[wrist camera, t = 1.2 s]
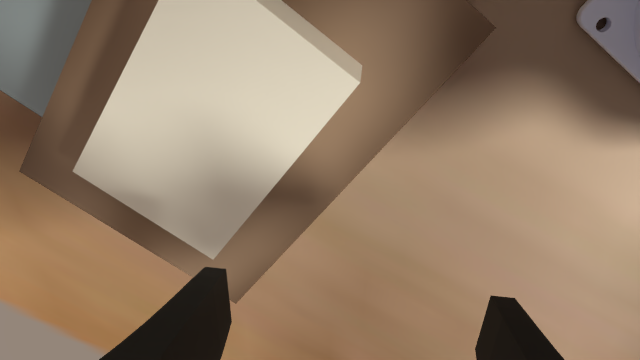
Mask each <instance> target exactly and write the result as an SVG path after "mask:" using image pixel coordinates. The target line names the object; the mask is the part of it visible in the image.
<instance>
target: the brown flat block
mask: <svg viewBox="0 0 640 360" xmlns="http://www.w3.org/2000/svg"><path fill="white" fill-rule="evenodd" d="M282 1H283V2H284V3H285V4H287V5H288V6H289V7H290V8H292V9H293V10H294V11H295V12H297V13H298V14H299V15H300V16H302V17H303V18H304V19H305V20H306V21H308V22H309V23H310V24H311V25H313V26H314V27H315V28H316V29H318V30H319V31H320V32H321V33H323V34H324V35H325V36H326V37H328V38H329V39H330V40H331V41H333V42H334V43H335V44H336V45H338V46H339V47H340V48H341V49H343V50H344V51H345V52H346V53H347V54H349V55H350V56H351V57H352V58H354V59H355V60H356V61H357V62H359V63H360V64H361V65H362V73H361V80H360V84H359V85H358V86H357V87H356V88H355V90H354V91H353V92H352V93H351V94H350V96H349V97H348V98H347V99H346V100H345V102H344V103H343V104H342V105H341V107H340V108H339V109H338V110H337V111H336V113H335V114H334V115H333V116H332V117H331V119H330V120H329V121H328V122H327V123H326V125H325V126H324V127H323V128H322V129H321V131H320V132H319V133H318V134H317V135H316V137H315V138H314V139H313V140H312V141H311V143H310V144H309V145H308V146H307V147H306V149H305V150H304V151H303V152H302V153H301V155H300V156H299V157H298V158H297V159H296V161H295V162H294V163H293V164H292V166H291V167H290V168H289V169H288V170H287V172H286V173H285V174H284V175H283V176H282V178H281V179H280V180H279V181H278V182H277V184H276V185H275V186H274V187H273V188H272V190H271V191H270V192H269V193H268V194H267V196H266V197H265V198H264V199H263V200H262V202H261V203H260V204H259V205H258V206H257V208H256V209H255V210H254V211H253V212H252V214H251V215H250V216H249V217H248V218H247V220H246V221H245V222H244V223H243V224H242V226H241V227H240V228H239V229H238V231H237V232H236V233H235V234H234V235H233V237H232V238H231V239H230V240H229V241H228V243H227V244H226V245H225V246H224V247H223V249H222V250H221V251H220V252H219V253H218V255H217V256H216V257H215V258H214V259H211V258H209V257H208V256H206V255H205V254H203V253H201V252H200V251H198V250H197V249H195V248H194V247H192V246H190V245H189V244H187V243H186V242H184V241H182V240H181V239H179V238H178V237H176V236H174V235H173V234H171V233H170V232H168V231H166V230H165V229H163V228H162V227H160V226H158V225H157V224H155V223H154V222H152V221H151V220H149V219H147V218H146V217H144V216H143V215H141V214H139V213H138V212H136V211H135V210H133V209H131V208H130V207H128V206H127V205H125V204H123V203H122V202H120V201H119V200H117V199H116V198H114V197H112V196H111V195H109V194H108V193H106V192H104V191H103V190H101V189H100V188H98V187H96V186H95V185H93V184H92V183H90V182H88V181H87V180H85V179H84V178H82V177H80V176H79V175H77V174H76V173H74V172H73V169H74V167H75V165H76V163H77V161H78V159H79V157H80V155H81V153H82V151H83V149H84V147H85V145H86V144H87V142H88V140H89V138H90V136H91V134H92V132H93V130H94V128H95V126H96V124H97V122H98V120H99V118H100V116H101V114H102V112H103V110H104V108H105V106H106V104H107V102H108V100H109V98H110V96H111V94H112V92H113V90H114V88H115V86H116V84H117V82H118V80H119V78H120V76H121V74H122V72H123V70H124V68H125V66H126V64H127V62H128V60H129V58H130V56H131V54H132V52H133V50H134V48H135V46H136V44H137V42H138V40H139V38H140V36H141V34H142V32H143V30H144V28H145V26H146V24H147V22H148V20H149V18H150V16H151V14H152V12H153V10H154V8H155V6H156V4H157V2H158V0H92V1H91V3H90V5H89V8H88V10H87V12H86V15H85V17H84V20H83V22H82V24H81V27H80V29H79V31H78V34H77V36H76V38H75V41H74V43H73V46H72V48H71V50H70V53H69V55H68V57H67V60H66V62H65V65H64V67H63V69H62V72H61V74H60V76H59V79H58V81H57V83H56V86H55V88H54V91H53V93H52V95H51V98H50V100H49V102H48V105H47V107H46V110H45V112H44V114H43V117H42V119H41V121H40V124H39V126H38V128H37V131H36V133H35V136H34V138H33V140H32V143H31V145H30V147H29V150H28V152H27V155H26V157H25V159H24V162H23V164H22V166H21V169H20V172H21V173H23V174H25V175H26V176H28V177H30V178H31V179H33V180H34V181H36V182H38V183H39V184H41V185H43V186H44V187H46V188H47V189H49V190H51V191H52V192H54V193H56V194H57V195H59V196H61V197H62V198H64V199H65V200H67V201H69V202H70V203H72V204H74V205H75V206H77V207H79V208H80V209H82V210H83V211H85V212H87V213H88V214H90V215H92V216H93V217H95V218H97V219H98V220H100V221H101V222H103V223H105V224H106V225H108V226H110V227H111V228H113V229H115V230H116V231H118V232H119V233H121V234H123V235H124V236H126V237H128V238H129V239H131V240H133V241H134V242H136V243H137V244H139V245H141V246H142V247H144V248H146V249H147V250H149V251H151V252H152V253H154V254H155V255H157V256H159V257H160V258H162V259H164V260H165V261H167V262H169V263H170V264H172V265H173V266H175V267H177V268H178V269H180V270H182V271H183V272H185V273H187V274H188V275H190V276H191V277H194V276H195V275H197V274H198V273H199V272H200V271H201V270H202V269H203V268H204V267H213V268H223V269H226V272H227V281H228V291H229V300H231V301H232V302H234V303H237V302H238V301H239V300H240V299H241V298H242V297H243V295H244V294H245V293H246V292H247V291H248V290H249V289H250V288H251V287H252V286H253V285H254V284H255V283H256V282H257V281H258V280H259V279H260V277H261V276H262V275H263V274H264V273H265V272H266V271H267V270H268V269H269V268H270V267H271V266H272V265H273V264H274V263H275V262H276V261H277V259H278V258H279V257H280V256H281V255H282V254H283V253H284V252H285V251H286V250H287V249H288V248H289V247H290V246H291V245H292V244H293V242H294V241H295V240H296V239H297V238H298V237H299V236H300V235H301V234H302V233H303V232H304V231H305V230H306V229H307V228H308V227H309V226H310V224H311V223H312V222H313V221H314V220H315V219H316V218H317V217H318V216H319V215H320V214H321V213H322V212H323V211H324V210H325V209H326V208H327V206H328V205H329V204H330V203H331V202H332V201H333V200H334V199H335V198H336V197H337V196H338V195H339V194H340V193H341V192H342V191H343V190H344V188H345V187H346V186H347V185H348V184H349V183H350V182H351V181H352V180H353V179H354V178H355V177H356V176H357V175H358V174H359V173H360V171H361V170H362V169H363V168H364V167H365V166H366V165H367V164H368V163H369V162H370V161H371V160H372V159H373V158H374V157H375V156H376V155H377V153H378V152H379V151H380V150H381V149H382V148H383V147H384V146H385V145H386V144H387V143H388V142H389V141H390V140H391V139H392V138H393V137H394V135H395V134H396V133H397V132H398V131H399V130H400V129H401V128H402V127H403V126H404V125H405V124H406V123H407V122H408V121H409V120H410V119H411V117H412V116H413V115H414V114H415V113H416V112H417V111H418V110H419V109H420V108H421V107H422V106H423V105H424V104H425V103H426V102H427V100H428V99H429V98H430V97H431V96H432V95H433V94H434V93H435V92H436V91H437V90H438V89H439V88H440V87H441V86H442V85H443V84H444V82H445V81H446V80H447V79H448V78H449V77H450V76H451V75H452V74H453V73H454V72H455V71H456V70H457V69H458V68H459V67H460V66H461V64H462V63H463V62H464V61H465V60H466V59H467V58H468V57H469V56H470V55H471V54H472V53H473V52H474V51H475V50H476V49H477V48H478V46H479V45H480V44H481V43H482V42H483V41H484V40H485V39H486V38H487V37H488V36H489V35H490V34H491V33H492V32H493V31H494V29H495V28H496V27H495V26H494V25H493V24H492V23H490V22H489V21H488V20H487V19H486V18H485V17H484V16H483V15H482V14H481V13H479V12H478V11H477V10H476V9H475V8H474V7H473V6H472V5H471V4H469V3H468V2H467V1H466V0H282Z"/></svg>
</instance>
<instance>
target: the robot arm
mask: <svg viewBox="0 0 640 360" xmlns="http://www.w3.org/2000/svg"><path fill="white" fill-rule="evenodd" d="M576 17H577V23H578V24H579V26H580V27H581V28H582V29H583V30H584V31H585V32H587V33H588V34H589V35H590V36H591V37H592V38H593V39H594V40H595V41H596V42H597V43H598V44H599V45H600V46H601V47H602V48H603V49H604V50H605V51H606V52H607V53H608V54H610V55H611V56H612V57H613V58H614V59H615V60H616V61H617V62H618V63H619V64H620V65H621V66H622V67H623V68H624V69H625V70H626V71H627V72H628V73H629V74H630V75H631V76H633V77H634V78H635V79H636V80H637V81H638V82H639V83H640V0H588V1H587V2H586V3H585V4H584V5H582V7H581V8H580V9H579V11H578V13H577V16H576ZM602 18H606V20H607V22H606V25H605V26H604V28H602V29H601V30H597V29H596V24H597V22H598V21H599V20H600V19H602ZM231 322H232V321H231V311H230V301H229V291H228V281H227V272H226V269H223V268H213V267H204V268H203V269H202V270H201V271H200V272H199V273H198V274H197V275H195V276H194V277H193V278H192V279H191V280H190V281H189V282H188V283H187V284H186V285H185V286H184V287H183V288H182V289H181V290H180V291H179V292H178V293H177V294H176V295H175V296H174V297H173V298H172V299H171V300H169V301H168V302H167V303H166V304H165V305H164V306H163V307H162V308H161V309H160V310H158V311H157V312H156V313H155V314H154V315H153V316H152V317H151V318H150V319H149V320H147V321H146V322H145V323H144V324H143V325H142V326H140V327H139V328H138V329H137V330H136V331H134V332H133V333H132V334H131V335H130V336H128V337H127V338H126V339H125V340H124V341H122V342H121V343H120V344H119V345H117V346H116V347H115V348H114V349H112V350H111V351H110V352H108V353H107V354H106V355H104V356H103V357H102V358H100V359H99V360H220V359H221V356H222V353H223V350H224V346H225V343H226V340H227V336H228V332H229V329H230V325H231ZM475 350H476V358H477V360H564V359H563V357H562V356H561V355H560V354H559V353H558V352H557V350H556V349H555V348H554V347H553V345H552V344H551V343H550V342H549V341H548V339H547V338H546V337H545V336H544V334H543V333H542V332H541V331H540V329H539V328H538V327H537V326H536V324H535V323H534V322H533V320H532V319H531V318H530V317H529V315H528V314H527V313H526V312H525V310H524V309H523V308H522V307H521V305H520V304H519V303H518V302H517V300H516V299H515V298H508V297H498V296H491V297H490V300H489V304H488V307H487V311H486V314H485V317H484V321H483V324H482V328H481V331H480V335H479V338H478V341H477V345H476V348H475Z"/></svg>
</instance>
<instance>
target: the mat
mask: <svg viewBox="0 0 640 360" xmlns="http://www.w3.org/2000/svg"><path fill="white" fill-rule="evenodd" d="M91 1H92V0H0V90H1V91H2V92H4V93H6V94H7V95H9V96H10V97H12V98H13V99H15V100H16V101H18V102H19V103H21V104H23V105H24V106H26V107H27V108H29V109H30V110H32V111H33V112H35V113H37V114H38V115H40V116H41V117H43V114H44V112H45V110H46V107H47V105H48V102H49V100H50V98H51V95H52V93H53V91H54V88H55V86H56V83H57V81H58V79H59V76H60V74H61V72H62V69H63V67H64V65H65V62H66V60H67V57H68V55H69V53H70V50H71V48H72V46H73V43H74V41H75V38H76V36H77V34H78V31H79V29H80V27H81V24H82V22H83V20H84V17H85V15H86V12H87V10H88V8H89V5H90V3H91Z"/></svg>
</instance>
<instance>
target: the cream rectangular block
mask: <svg viewBox="0 0 640 360" xmlns="http://www.w3.org/2000/svg"><path fill="white" fill-rule="evenodd" d="M361 73H362V65H361V64H360V63H359V62H357V61H356V60H355V59H354V58H352V57H351V56H350V55H349V54H347V53H346V52H345V51H344V50H343V49H341V48H340V47H339V46H338V45H336V44H335V43H334V42H333V41H331V40H330V39H329V38H328V37H326V36H325V35H324V34H323V33H321V32H320V31H319V30H318V29H316V28H315V27H314V26H313V25H311V24H310V23H309V22H308V21H306V20H305V19H304V18H303V17H302V16H300V15H299V14H298V13H297V12H295V11H294V10H293V9H292V8H290V7H289V6H288V5H287V4H285V3H284V2H283V1H282V0H158V2H157V4H156V6H155V8H154V10H153V12H152V14H151V16H150V18H149V20H148V22H147V24H146V26H145V28H144V30H143V32H142V34H141V36H140V38H139V40H138V42H137V44H136V46H135V48H134V50H133V52H132V54H131V56H130V58H129V60H128V62H127V64H126V66H125V68H124V70H123V72H122V74H121V76H120V78H119V80H118V82H117V84H116V86H115V88H114V90H113V92H112V94H111V96H110V98H109V100H108V102H107V104H106V106H105V108H104V110H103V112H102V114H101V116H100V118H99V120H98V122H97V124H96V126H95V128H94V130H93V132H92V134H91V136H90V138H89V140H88V142H87V144H86V145H85V147H84V149H83V151H82V153H81V155H80V157H79V159H78V161H77V163H76V165H75V167H74V169H73V172H74V173H76V174H77V175H79V176H80V177H82V178H84V179H85V180H87V181H88V182H90V183H92V184H93V185H95V186H96V187H98V188H100V189H101V190H103V191H104V192H106V193H108V194H109V195H111V196H112V197H114V198H116V199H117V200H119V201H120V202H122V203H123V204H125V205H127V206H128V207H130V208H131V209H133V210H135V211H136V212H138V213H139V214H141V215H143V216H144V217H146V218H147V219H149V220H151V221H152V222H154V223H155V224H157V225H158V226H160V227H162V228H163V229H165V230H166V231H168V232H170V233H171V234H173V235H174V236H176V237H178V238H179V239H181V240H182V241H184V242H186V243H187V244H189V245H190V246H192V247H194V248H195V249H197V250H198V251H200V252H201V253H203V254H205V255H206V256H208V257H209V258H211V259H214V258H215V257H216V256H217V255H218V253H219V252H220V251H221V250H222V249H223V247H224V246H225V245H226V244H227V243H228V241H229V240H230V239H231V238H232V237H233V235H234V234H235V233H236V232H237V231H238V229H239V228H240V227H241V226H242V224H243V223H244V222H245V221H246V220H247V218H248V217H249V216H250V215H251V214H252V212H253V211H254V210H255V209H256V208H257V206H258V205H259V204H260V203H261V202H262V200H263V199H264V198H265V197H266V196H267V194H268V193H269V192H270V191H271V190H272V188H273V187H274V186H275V185H276V184H277V182H278V181H279V180H280V179H281V178H282V176H283V175H284V174H285V173H286V172H287V170H288V169H289V168H290V167H291V166H292V164H293V163H294V162H295V161H296V159H297V158H298V157H299V156H300V155H301V153H302V152H303V151H304V150H305V149H306V147H307V146H308V145H309V144H310V143H311V141H312V140H313V139H314V138H315V137H316V135H317V134H318V133H319V132H320V131H321V129H322V128H323V127H324V126H325V125H326V123H327V122H328V121H329V120H330V119H331V117H332V116H333V115H334V114H335V113H336V111H337V110H338V109H339V108H340V107H341V105H342V104H343V103H344V102H345V100H346V99H347V98H348V97H349V96H350V94H351V93H352V92H353V91H354V90H355V88H356V87H357V86H358V85H359V84H360V80H361Z"/></svg>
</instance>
